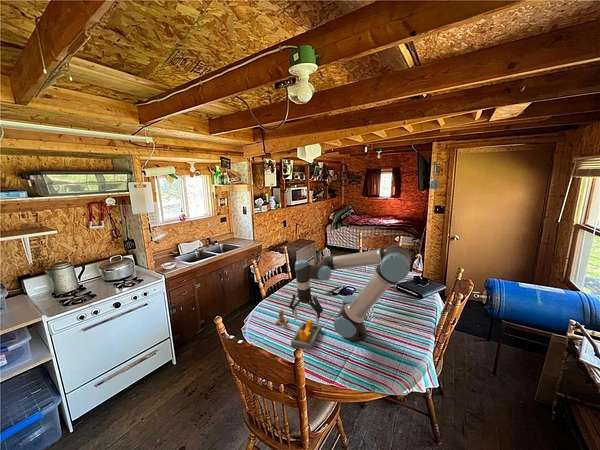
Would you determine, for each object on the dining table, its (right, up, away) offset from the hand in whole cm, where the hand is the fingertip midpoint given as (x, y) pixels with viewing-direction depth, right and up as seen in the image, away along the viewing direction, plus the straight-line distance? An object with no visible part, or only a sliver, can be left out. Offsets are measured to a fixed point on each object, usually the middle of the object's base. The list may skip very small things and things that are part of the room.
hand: (306, 321), depth 141 cm
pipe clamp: (0, -10, +3) cm, 11 cm away
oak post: (-16, -8, +19) cm, 26 cm away
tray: (0, -11, +3) cm, 11 cm away
